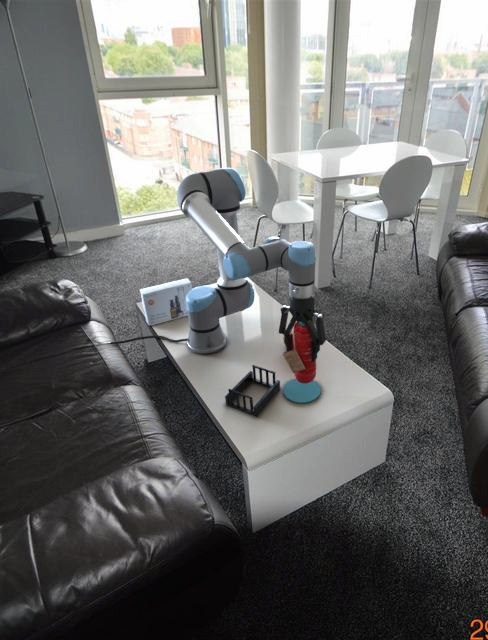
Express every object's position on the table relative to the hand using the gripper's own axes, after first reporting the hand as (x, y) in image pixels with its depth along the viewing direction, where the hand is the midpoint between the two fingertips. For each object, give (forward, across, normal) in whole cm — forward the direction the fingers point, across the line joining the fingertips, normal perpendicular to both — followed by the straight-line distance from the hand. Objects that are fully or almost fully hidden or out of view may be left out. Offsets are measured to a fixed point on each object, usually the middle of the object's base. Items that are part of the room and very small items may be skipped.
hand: (301, 355), depth 143 cm
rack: (+15, -13, -10) cm, 22 cm away
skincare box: (+15, -74, +18) cm, 77 cm away
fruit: (+15, -15, +22) cm, 31 cm away
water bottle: (+10, 0, 0) cm, 10 cm away
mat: (+15, 0, 0) cm, 15 cm away
